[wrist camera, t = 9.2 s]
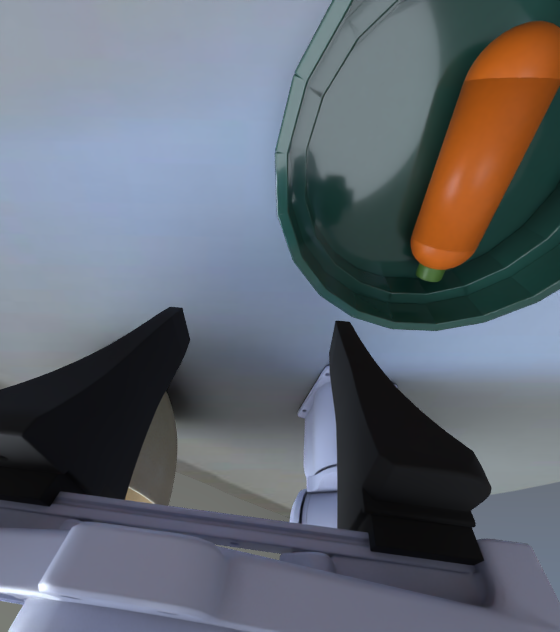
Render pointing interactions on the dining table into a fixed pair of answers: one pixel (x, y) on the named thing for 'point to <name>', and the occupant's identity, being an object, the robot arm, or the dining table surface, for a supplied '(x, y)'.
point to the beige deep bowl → (156, 459)
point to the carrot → (485, 143)
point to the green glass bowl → (407, 165)
